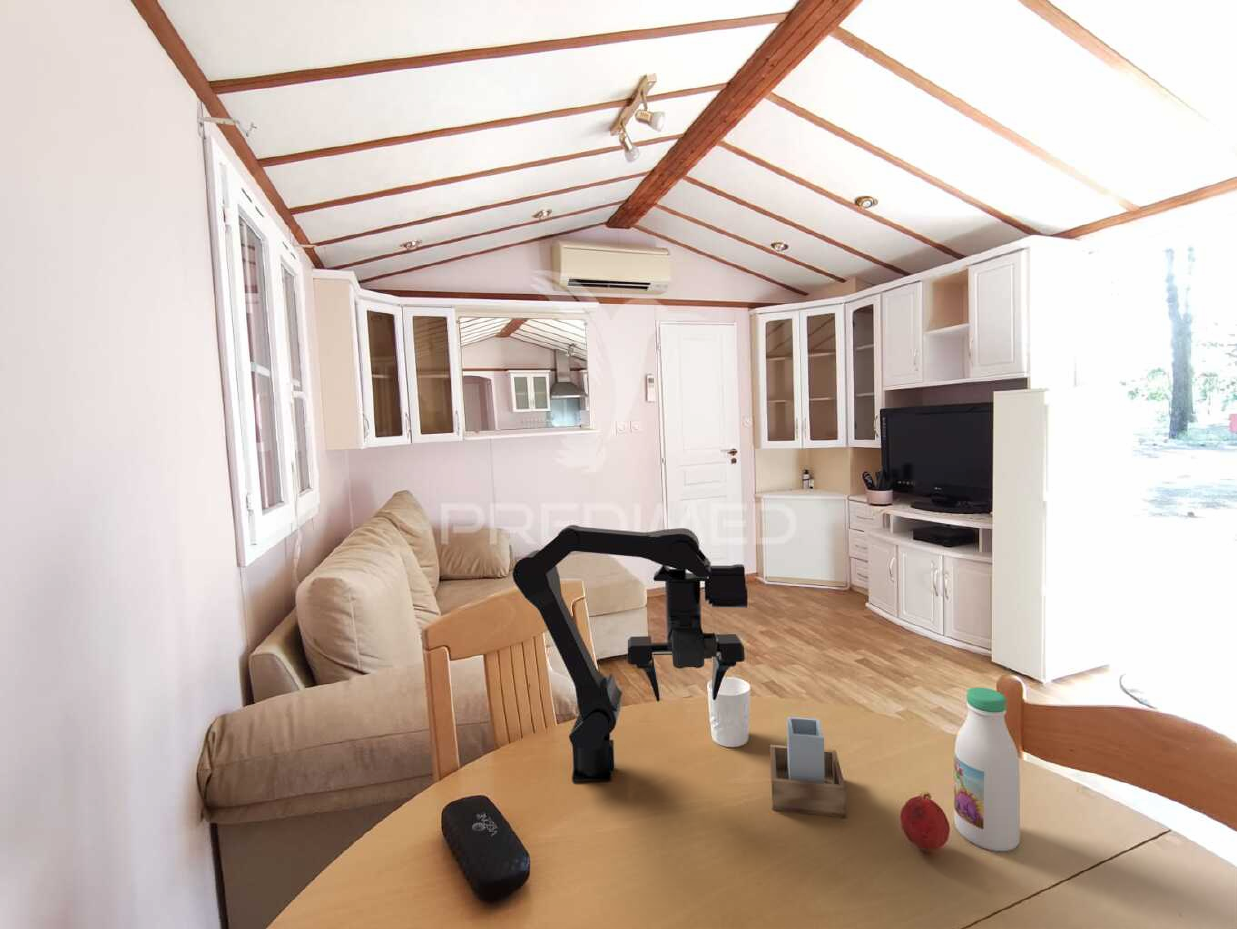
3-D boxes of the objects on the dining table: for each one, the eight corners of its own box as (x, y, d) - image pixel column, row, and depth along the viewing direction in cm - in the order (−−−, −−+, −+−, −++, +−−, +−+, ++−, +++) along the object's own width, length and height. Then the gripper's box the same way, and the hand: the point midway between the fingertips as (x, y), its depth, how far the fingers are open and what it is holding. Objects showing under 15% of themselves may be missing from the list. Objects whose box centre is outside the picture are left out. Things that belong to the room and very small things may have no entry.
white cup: (755, 749, 105) (754, 694, 104) (711, 749, 105) (710, 695, 105) (746, 727, 113) (745, 676, 112) (705, 728, 113) (704, 677, 112)
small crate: (790, 798, 89) (789, 735, 89) (787, 776, 95) (786, 716, 95) (824, 802, 88) (824, 737, 88) (820, 779, 94) (819, 718, 94)
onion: (930, 871, 75) (930, 811, 74) (891, 844, 80) (890, 787, 79) (958, 855, 77) (958, 797, 77) (919, 830, 82) (918, 775, 82)
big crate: (772, 809, 88) (771, 780, 88) (770, 770, 98) (770, 744, 98) (845, 817, 85) (845, 787, 85) (836, 777, 96) (835, 750, 95)
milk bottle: (1009, 821, 84) (1010, 684, 83) (1028, 858, 76) (1028, 709, 75) (949, 811, 86) (948, 678, 85) (960, 846, 79) (960, 702, 78)
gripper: (626, 623, 88) (629, 725, 89) (750, 620, 87) (753, 722, 88) (626, 602, 99) (629, 693, 100) (736, 599, 99) (739, 690, 99)
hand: (686, 699), depth 96 cm, fingers open, 9 cm apart
